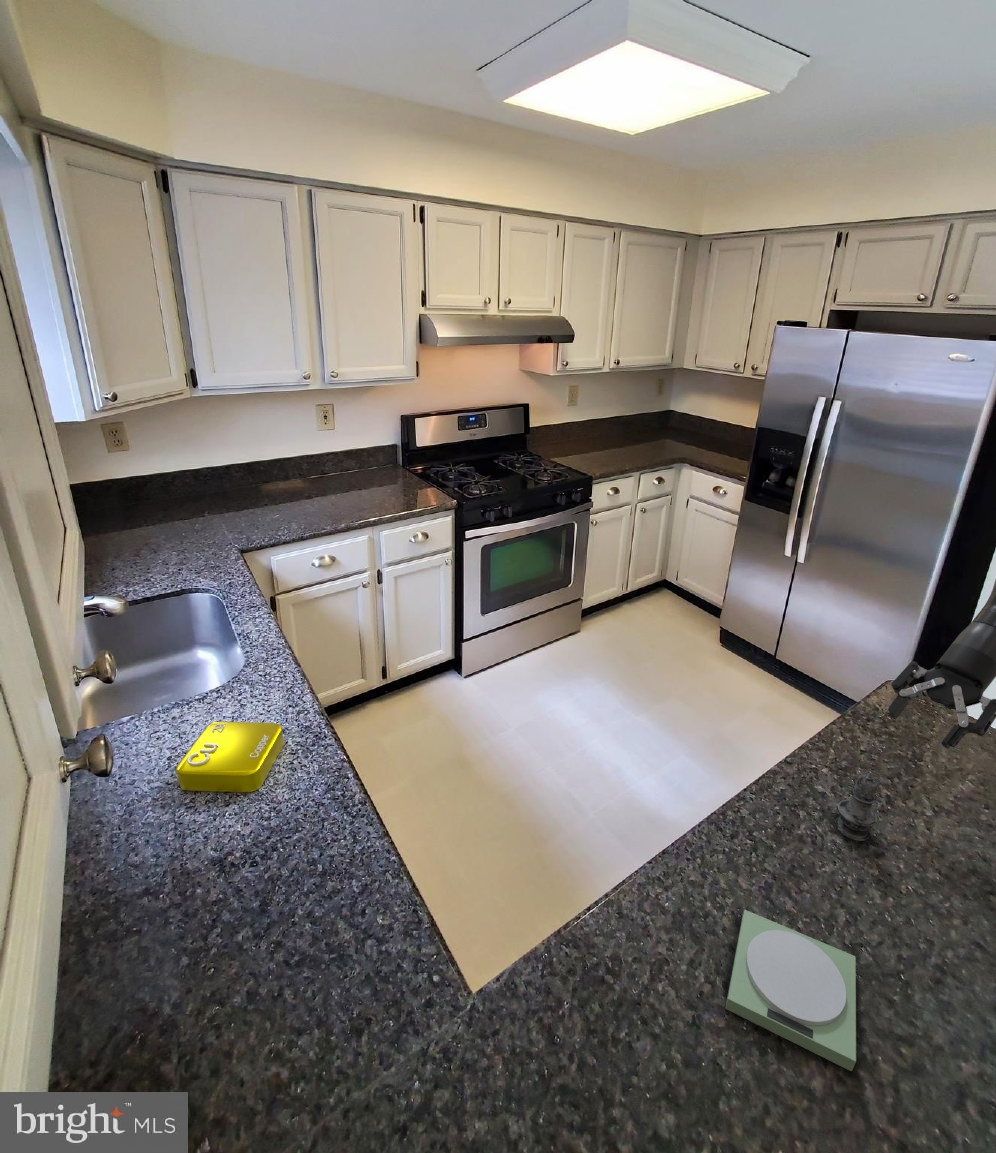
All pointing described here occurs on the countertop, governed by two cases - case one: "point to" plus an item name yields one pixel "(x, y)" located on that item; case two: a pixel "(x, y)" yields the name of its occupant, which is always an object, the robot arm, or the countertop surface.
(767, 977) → the scale
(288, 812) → the countertop surface
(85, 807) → the countertop surface
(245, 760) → the element tile
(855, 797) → the chess piece
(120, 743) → the countertop surface
